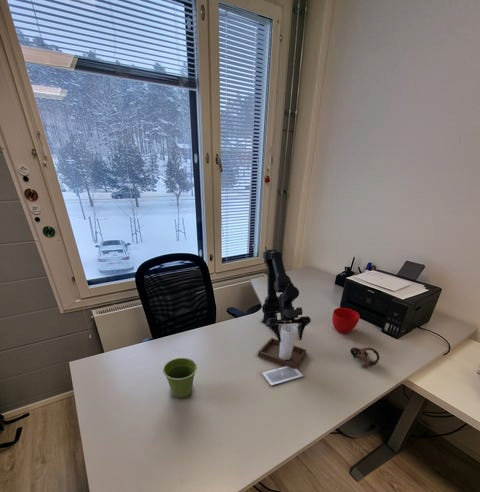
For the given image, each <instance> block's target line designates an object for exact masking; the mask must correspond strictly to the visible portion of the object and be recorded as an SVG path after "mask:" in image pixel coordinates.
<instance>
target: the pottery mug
mask: <svg viewBox="0 0 480 492" xmlns="http://www.w3.org/2000/svg"><path fill="white" fill-rule="evenodd" d="M367 351H372V352H373V353H374V354H375V355H376V359H375V360H369V361H368V358H367V357H368V356H369V355H370V353H369V352H367ZM349 352H350V355H352V357H353V358H354V359H356V358H357V356H360V358H361V360H362V362H363V364H362V367H363V368H365V369H367V368H371V367H375V366H377V364H378V363H379V362H380V361H379V360H380V354H379V352H378V351H377V349H375V348H373V347H361V348H358V347H355V346H354V347H351V348H350V350H349Z"/></svg>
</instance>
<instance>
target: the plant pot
mask: <svg viewBox="0 0 480 492" xmlns="http://www.w3.org/2000/svg"><path fill="white" fill-rule="evenodd" d="M197 370H198V365H197V363H196V361H194V360H193V359H191V358H188V357H176V358H173V359H171V360H169V361H167V362H166V363H164V365H163V367H162V373H163V375H164V376H165V378H166V379H167V382H168V385H169V388H170V391H171V395H173V396H174V397H175V398H180V399H183V398H184V399H185V398H186V397H188V396H189V395H191V393H192V391H193V383H194V378H195V375H196V372H197Z"/></svg>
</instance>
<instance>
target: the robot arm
mask: <svg viewBox="0 0 480 492" xmlns="http://www.w3.org/2000/svg"><path fill="white" fill-rule="evenodd" d="M262 259H263V263H264V264H265V266H266V275H267V276H266V279H267V281H266V283H267V285H266V286H267V296H266V297H265V299H264V303H263V305H262V306H261V311H262V313H263V319H262V320H261V323H263V324H265V327H266V328H268V329H269V330H271V332H273V333H274V335H275V337H276V339H277V340H279V342H281V338H280V325H294V324H297V325H298V326H297V327H296V328H297V335H298V339H299V342H301V341H302V339H303V335H304V330H305V328H306V326H308V325H309V324H310V323H311V322H312V320H311V317H310V316H308V315H307V316H302V315H303V307H302V306H300V307H298V306H297V307H296V308H295V307H294V306H293V302H294V301H295V300H296V299H297V298H298V297H299V295H300V290H299V289H298V287H296V286H295V285H294V283H293V281H292V279H291V277H290V276H289V275H288V274H287V272H286V268H285V265H284V262H283V253H282V251H279V250H278V249H265V250H264V251H263V252H262ZM277 293H278V294H279V295H277ZM277 314H280V319H278V315H277ZM299 316H300V317H299Z"/></svg>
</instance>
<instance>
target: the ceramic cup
mask: <svg viewBox="0 0 480 492" xmlns="http://www.w3.org/2000/svg"><path fill="white" fill-rule="evenodd" d="M360 317H361V316H360V314H359V312H357V311H356V310H353V309H351V308H347V307H339V306H338V307H337V308H335V309H333V312H332V319H331V320H332V325H333V328H334V329H335V330H336V332H338V333H340V334H348V333H351V331H353V330H354V329H355V328H356V327H357V325H358V322H359V320H360Z"/></svg>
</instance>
